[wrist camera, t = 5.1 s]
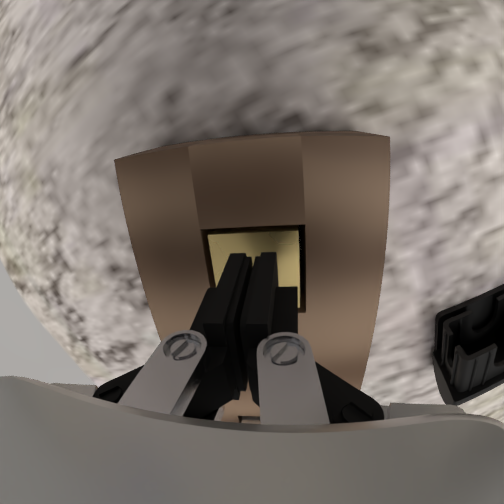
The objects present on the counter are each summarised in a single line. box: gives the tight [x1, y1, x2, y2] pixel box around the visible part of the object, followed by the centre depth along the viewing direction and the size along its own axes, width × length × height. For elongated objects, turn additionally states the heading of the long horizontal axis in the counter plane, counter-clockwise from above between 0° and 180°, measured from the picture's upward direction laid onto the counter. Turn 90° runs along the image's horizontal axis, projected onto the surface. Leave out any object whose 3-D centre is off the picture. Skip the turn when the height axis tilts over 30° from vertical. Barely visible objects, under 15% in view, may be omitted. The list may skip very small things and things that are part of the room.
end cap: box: [433, 284, 504, 406], centre depth 18 cm, size 10×7×7 cm
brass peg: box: [208, 225, 300, 308], centre depth 16 cm, size 4×4×6 cm
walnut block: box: [114, 131, 390, 423], centre depth 19 cm, size 26×12×6 cm, turn 5°
